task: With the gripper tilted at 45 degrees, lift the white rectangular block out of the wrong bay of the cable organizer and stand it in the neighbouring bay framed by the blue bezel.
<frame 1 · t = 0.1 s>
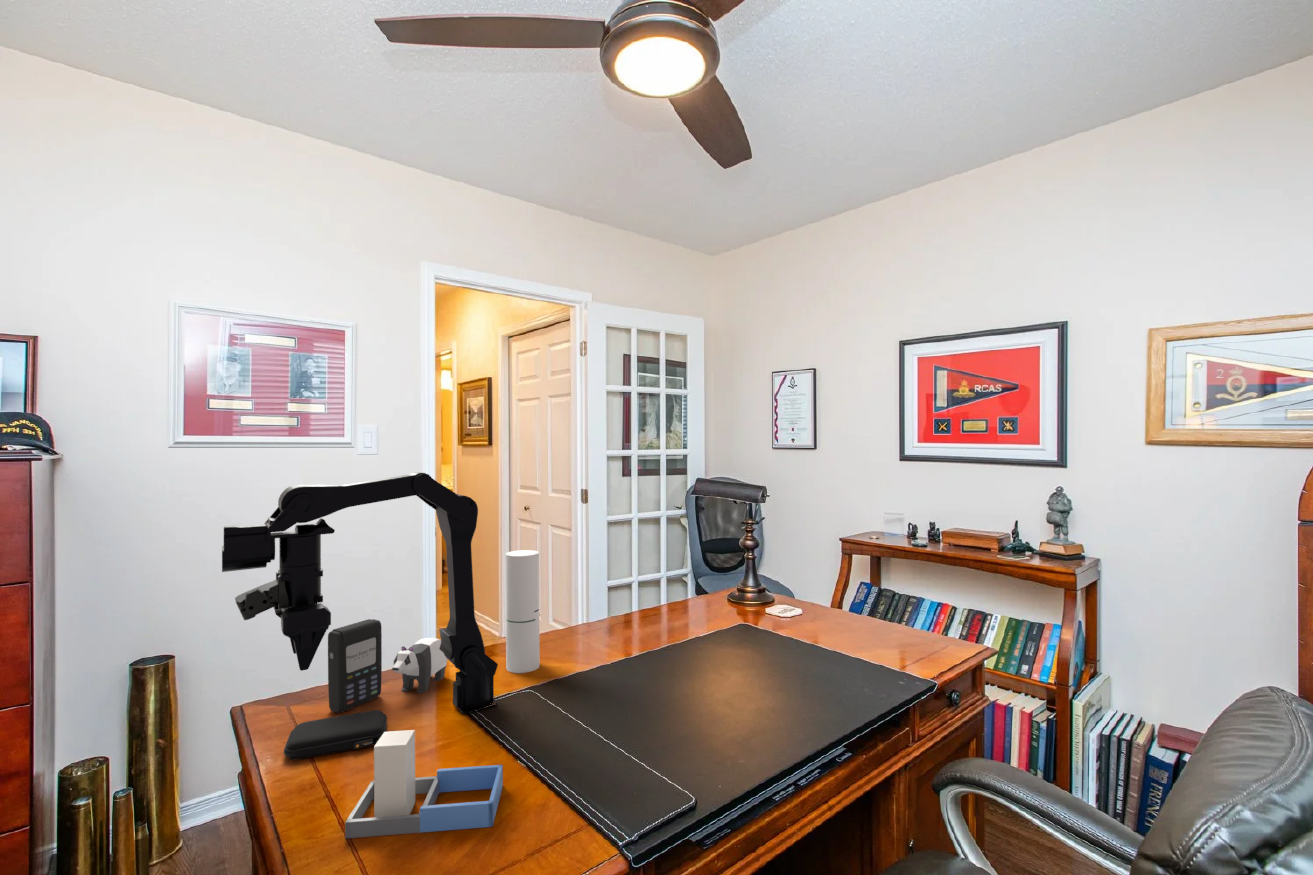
hand: (300, 661, 95), 15 cm above the table, tool pointing down, fingers open, 9 cm apart
cylindrical container: (523, 667, 131), on the table
card reader: (355, 705, 113), on the table
organizer: (429, 810, 80), on the table
white rectangular block: (395, 812, 79), resting in organizer
carrying case or bag: (338, 745, 98), on the table
giant panda: (420, 687, 120), on the table
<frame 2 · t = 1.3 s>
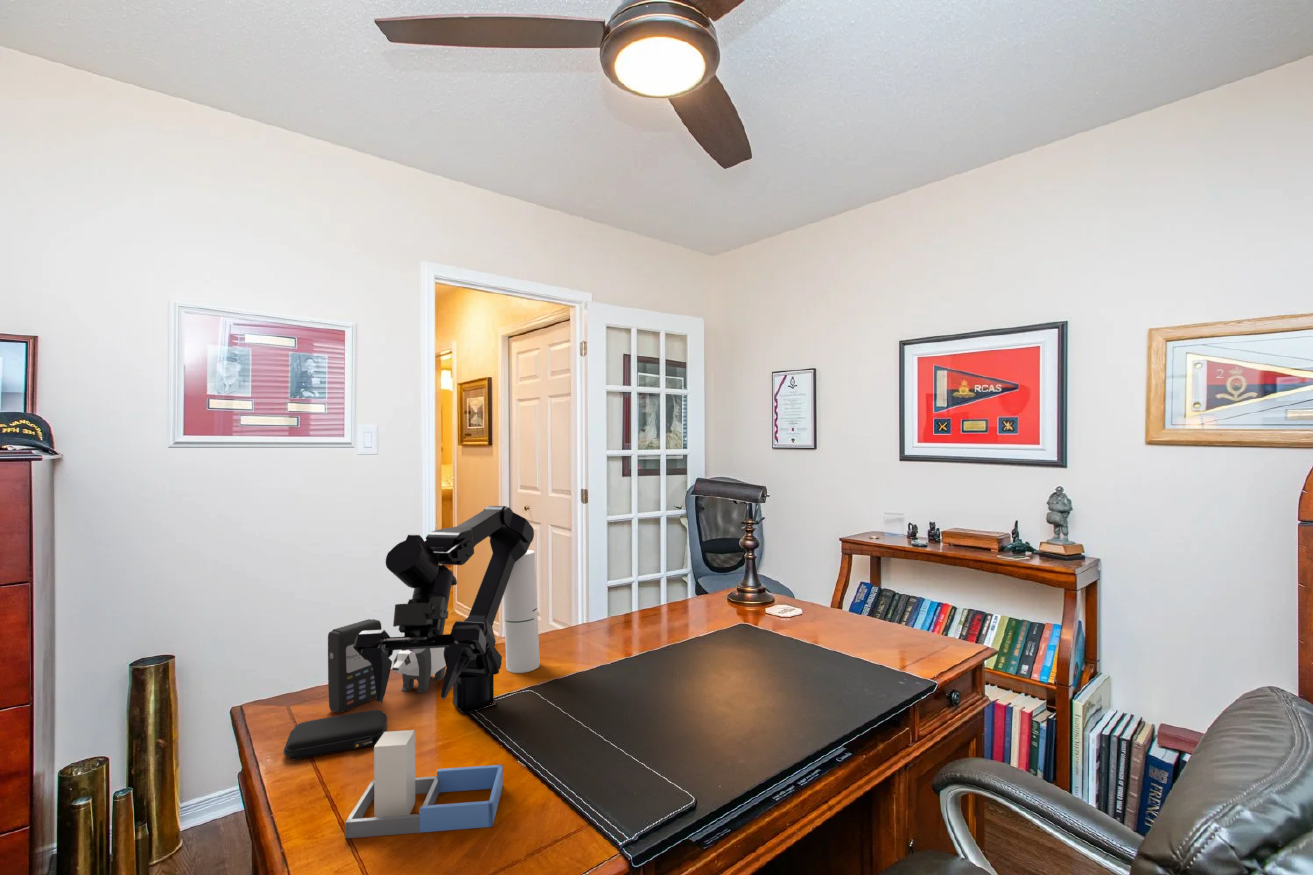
hand: (411, 699, 87), 12 cm above the table, tool tilted 40°, fingers open, 9 cm apart
cylindrical container: (523, 667, 131), on the table, touching arm
everything else where it was.
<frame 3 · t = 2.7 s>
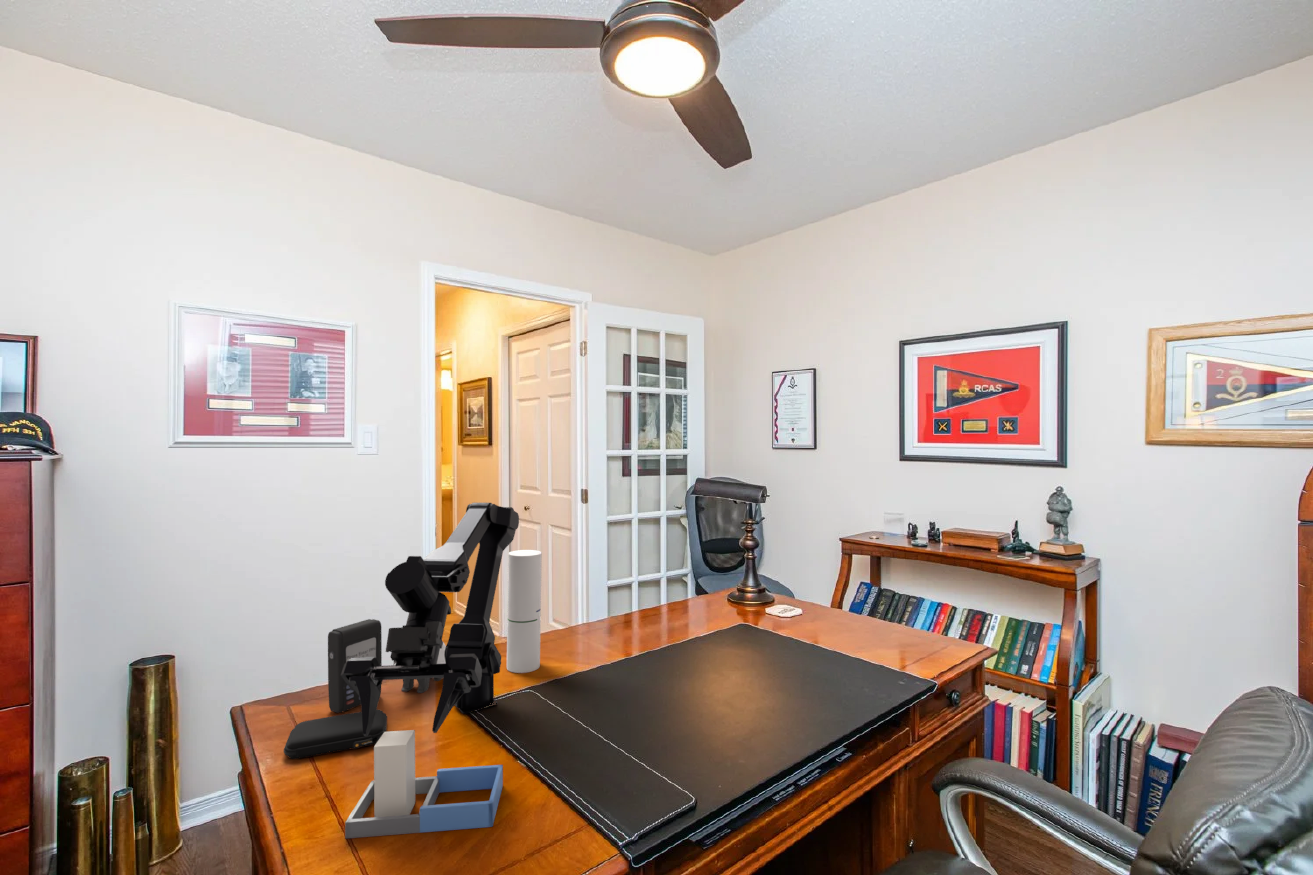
hand: (399, 733, 81), 10 cm above the table, tool tilted 45°, fingers open, 9 cm apart
cylindrical container: (523, 667, 131), on the table
everything else where it was.
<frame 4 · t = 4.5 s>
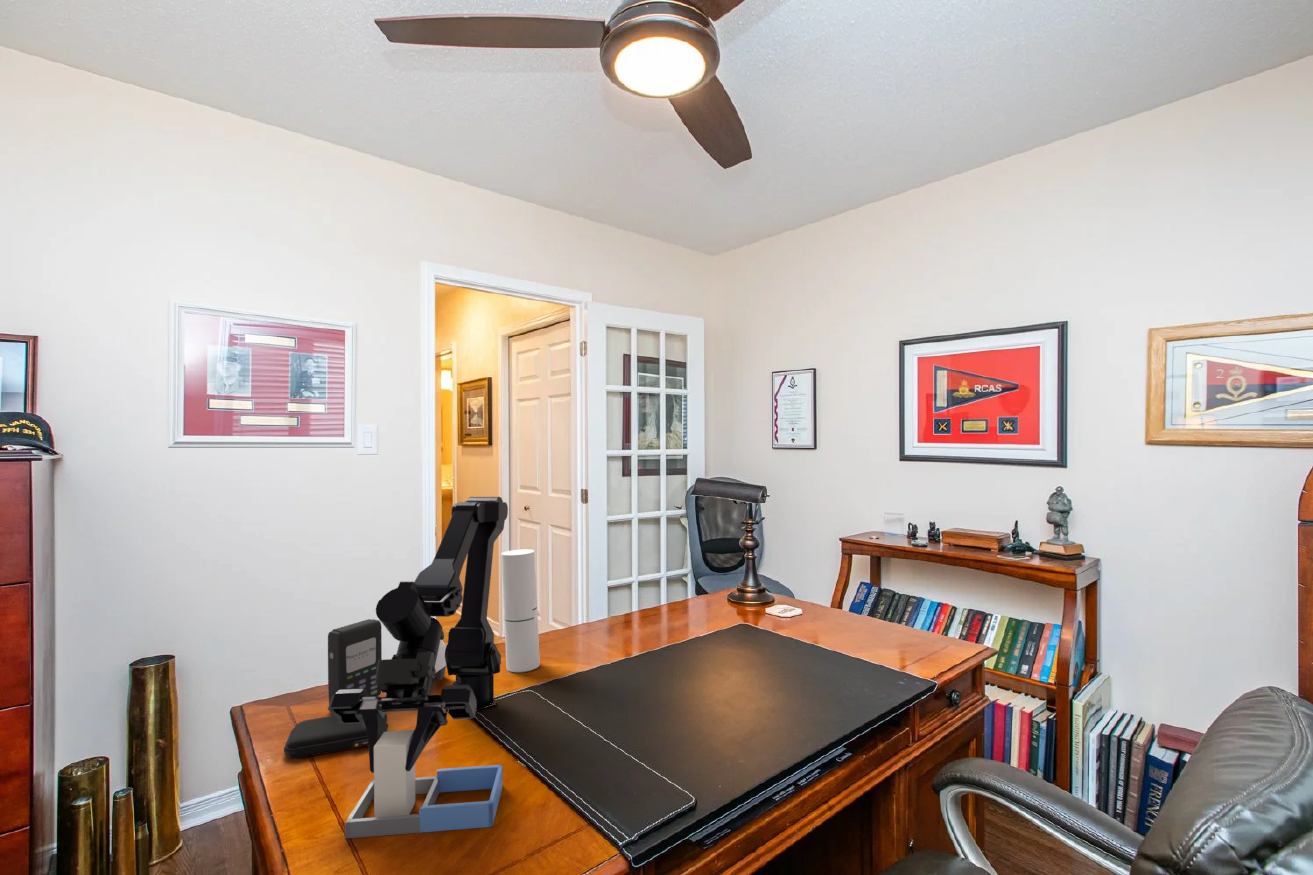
hand: (390, 771, 78), 7 cm above the table, tool tilted 45°, fingers closed on white rectangular block, 4 cm apart
white rectangular block: (395, 812, 79), resting in organizer, touching gripper
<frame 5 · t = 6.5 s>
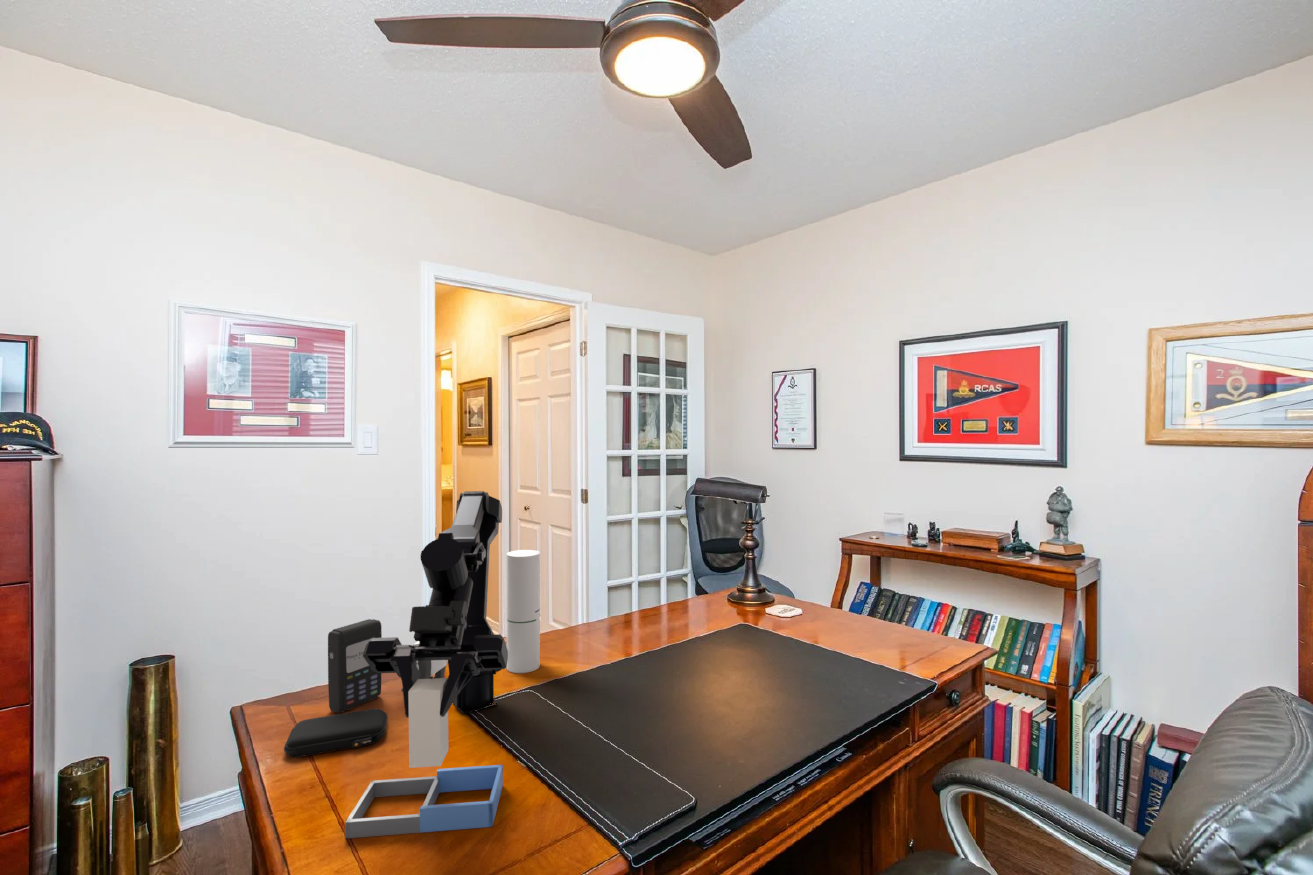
hand: (424, 716, 78), 14 cm above the table, tool tilted 45°, fingers closed on white rectangular block, 4 cm apart
white rectangular block: (429, 758, 80), point 7 cm above the table, touching gripper
when the fingers open (8 cm above the table, at t = 8.6 s): white rectangular block drops 1 cm, resting in organizer.
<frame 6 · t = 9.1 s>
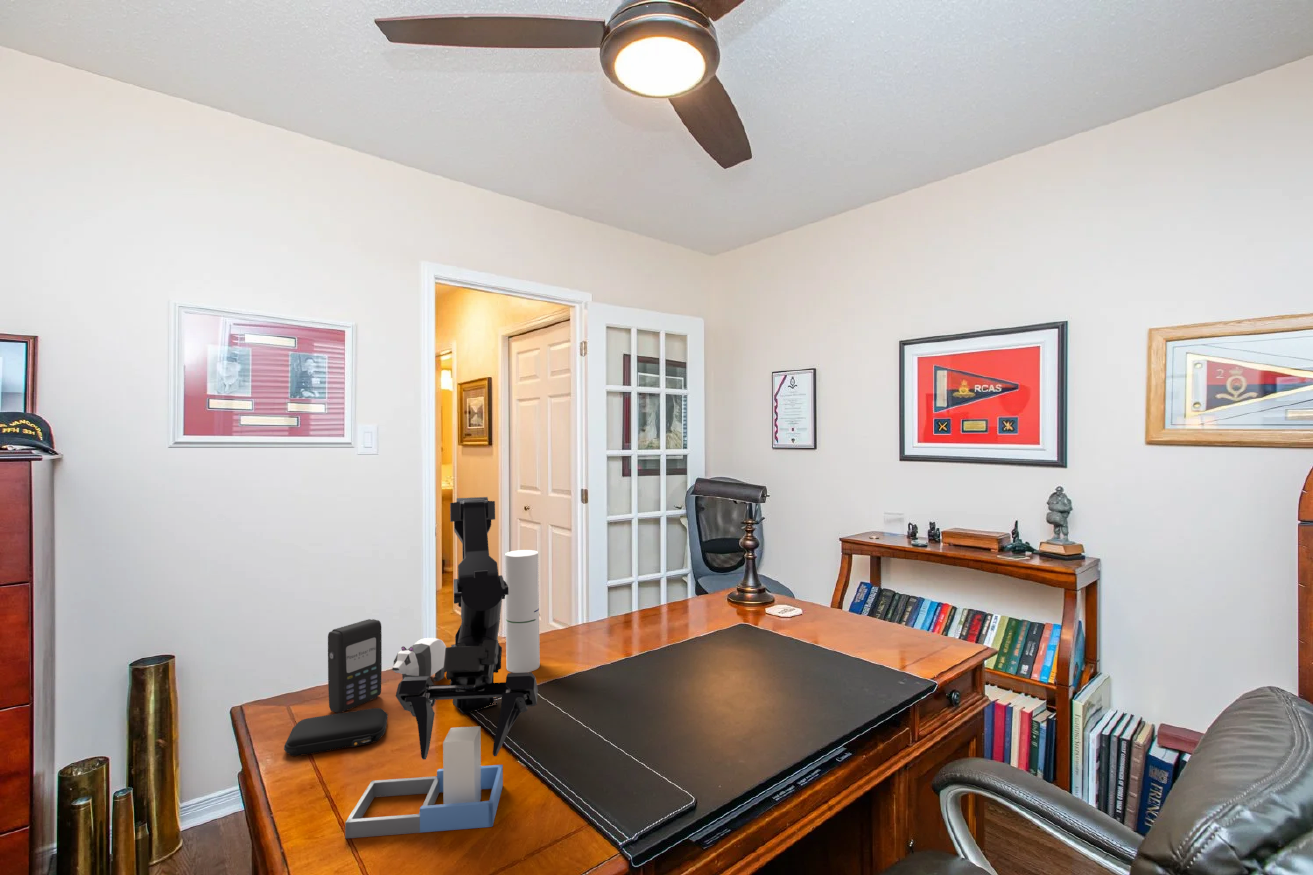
hand: (459, 756, 79), 8 cm above the table, tool tilted 45°, fingers open, 9 cm apart
white rectangular block: (462, 807, 80), resting in organizer
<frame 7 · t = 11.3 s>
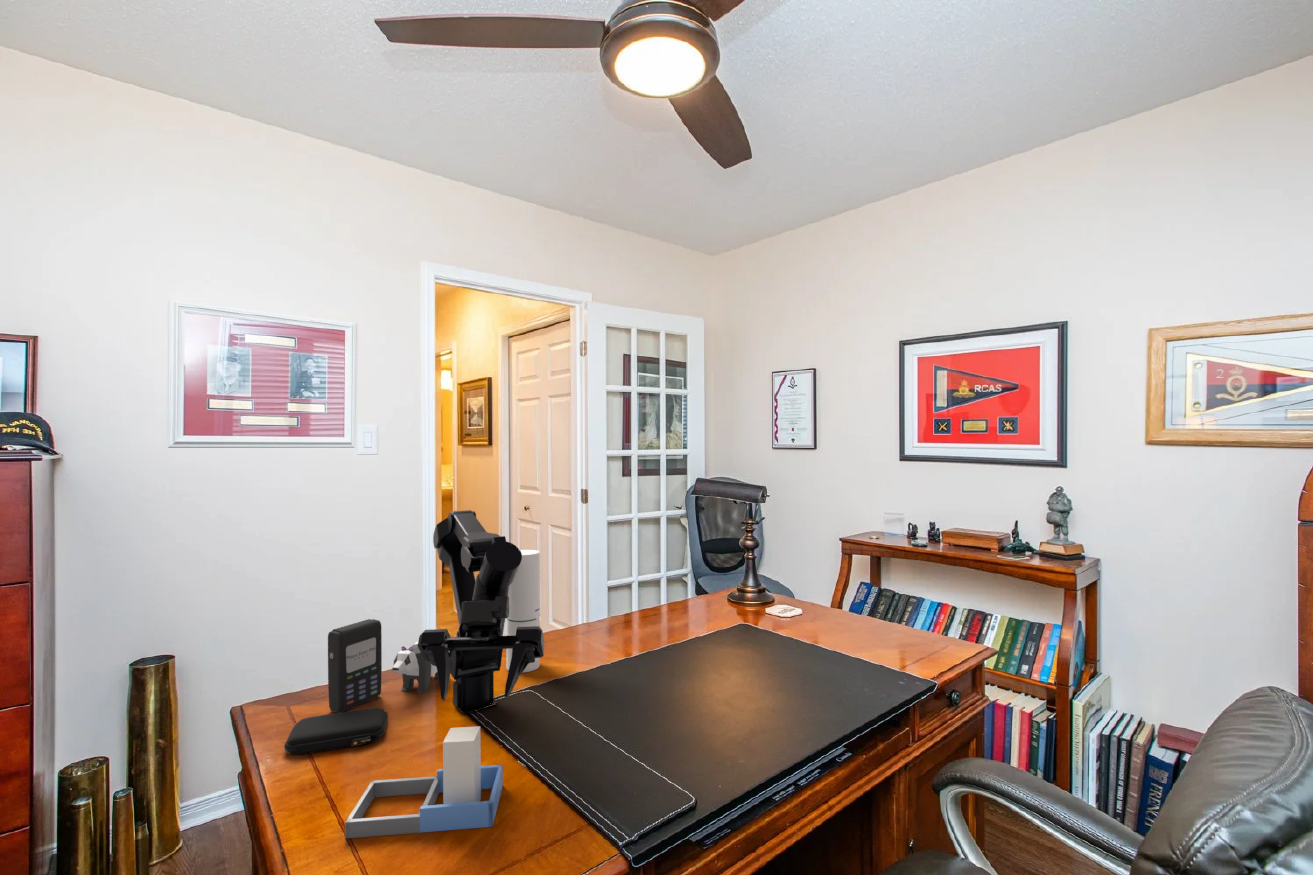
hand: (474, 698, 88), 12 cm above the table, tool tilted 45°, fingers open, 9 cm apart
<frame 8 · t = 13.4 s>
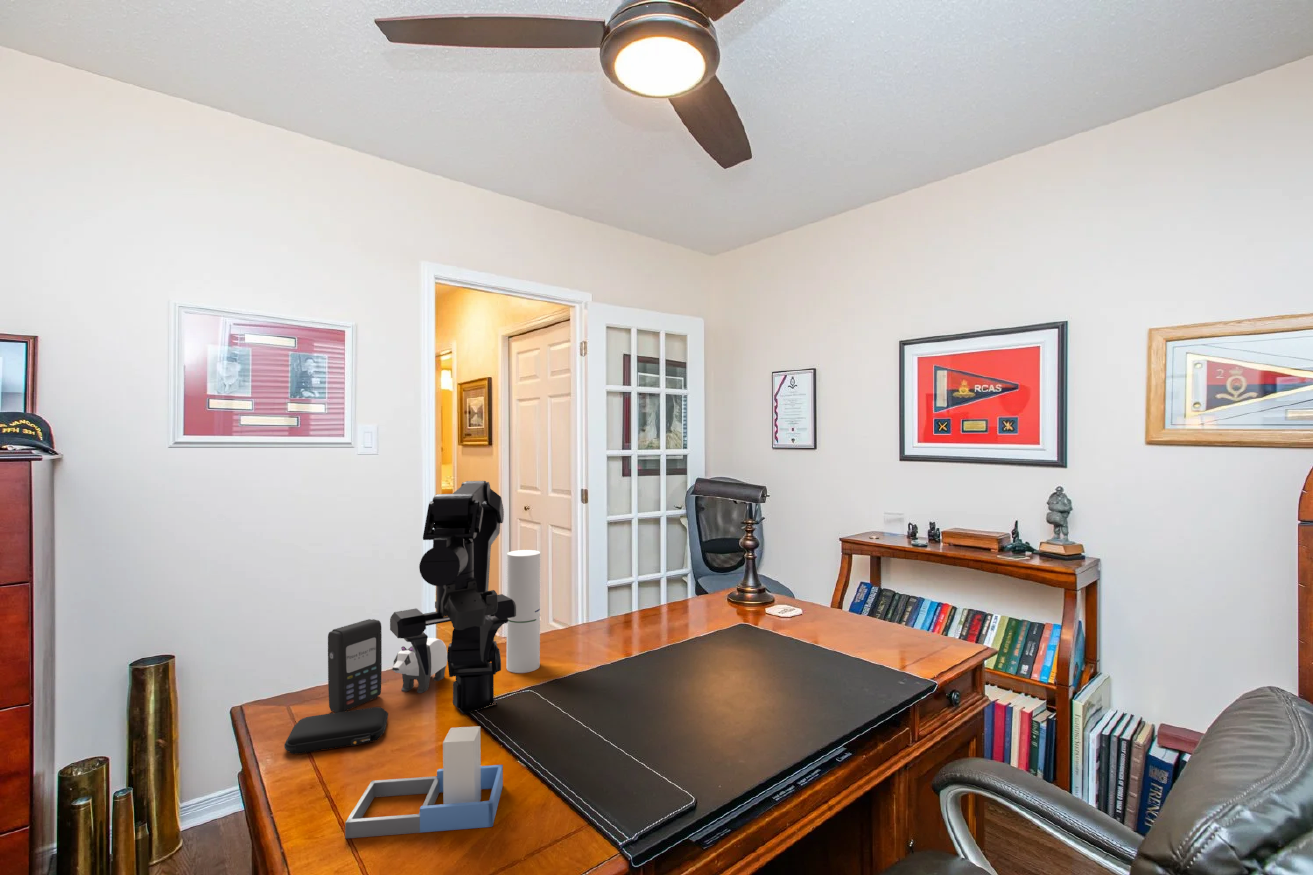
hand: (455, 667, 96), 13 cm above the table, tool pointing down, fingers open, 9 cm apart
at the end: white rectangular block 0.1 cm from the target spot, resting in organizer; white rectangular block tilted 0°; the gripper is holding nothing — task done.
